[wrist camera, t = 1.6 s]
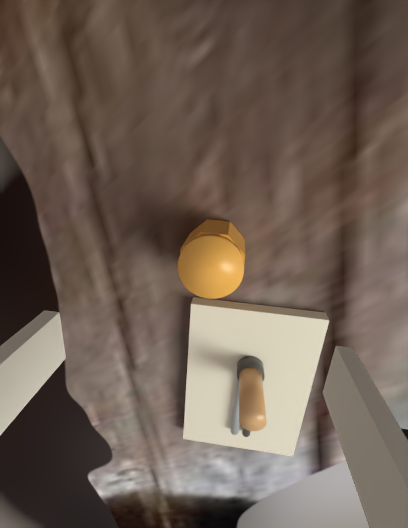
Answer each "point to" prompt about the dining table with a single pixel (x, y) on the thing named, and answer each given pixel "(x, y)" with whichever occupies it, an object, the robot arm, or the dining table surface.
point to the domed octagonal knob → (212, 259)
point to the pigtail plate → (280, 373)
